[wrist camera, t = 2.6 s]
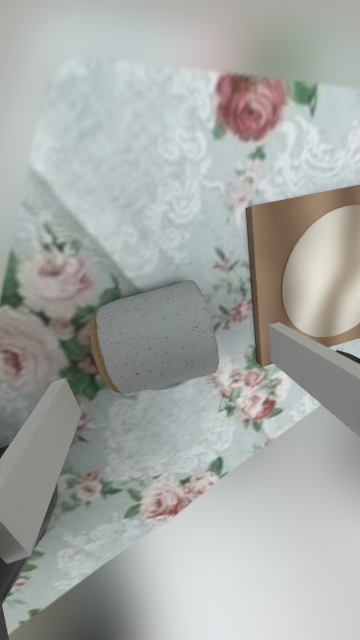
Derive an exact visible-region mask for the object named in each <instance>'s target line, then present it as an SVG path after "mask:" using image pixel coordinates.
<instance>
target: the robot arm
mask: <svg viewBox="0 0 360 640" xmlns="http://www.w3.org/2000/svg"><path fill="white" fill-rule="evenodd" d="M269 346H270V361H271V362H273V363H274V364H275V365H276V366H277V367H278V368H280V369H281V370H282V371H283V372H284V373H285V374H287V375H288V376H289V377H290V378H291V379H293V380H294V381H295V382H296V383H297V384H298V385H300V386H301V387H302V388H303V389H304V390H305V391H307V392H308V393H309V394H310V395H311V396H312V397H314V398H315V399H316V400H317V401H318V402H319V403H321V404H322V405H323V406H324V407H325V408H326V409H328V410H329V411H330V412H331V413H332V414H334V415H335V416H336V417H337V418H338V419H339V420H340V421H342V422H343V423H344V424H345V425H346V426H347V427H349V428H350V429H351V430H352V431H353V432H354V433H356V434H357V435H358V436H359V437H360V359H359V358H357V357H355V356H353V355H351V354H349V353H345V352H342V351H338V350H337V351H333V350H331V349H330V348H328V347H326V346H324V345H322V344H320V343H318V342H316V341H314V340H312V339H310V338H309V337H307V336H305V335H303V334H301V333H299V332H297V331H295V330H293V329H291V328H289V327H287V326H286V325H284V324H282V323H280V322H278V323H274V324H270V325H269ZM81 415H82V412H81V410H80V407H79V405H78V403H77V401H76V399H75V397H74V395H73V392H72V390H71V388H70V386H69V384H68V382H67V380H66V378H64V379H60V380H56V381H53V382H52V383H51V385H50V386H49V388H48V389H47V390H46V392H45V393H44V395H43V396H42V398H41V399H40V401H39V402H38V404H37V405H36V407H35V408H34V410H33V411H32V413H31V414H30V416H29V417H28V419H27V420H26V422H25V423H24V424H23V426H22V427H21V429H20V430H19V432H18V433H17V435H16V436H15V438H14V439H13V441H12V442H11V444H10V445H7V446H5V447H4V448H3V449H2V450H1V449H0V640H9V638H8V633H7V628H6V623H5V618H4V613H3V608H2V604H3V602H4V600H5V599H6V597H7V595H8V593H9V592H10V590H11V588H12V587H13V585H14V583H15V582H16V580H17V578H18V577H19V575H20V573H21V571H22V570H23V568H24V566H25V564H26V563H27V561H28V559H29V557H30V556H31V554H32V552H33V550H34V548H35V547H36V546H37V544H38V543H39V542H40V540H41V539H42V537H43V536H44V534H45V532H46V530H47V528H48V525H49V523H50V520H51V517H52V514H53V511H54V507H55V504H56V500H57V489H56V484H57V481H58V478H59V476H60V473H61V470H62V467H63V465H64V462H65V459H66V456H67V454H68V451H69V448H70V445H71V443H72V440H73V437H74V434H75V432H76V429H77V426H78V423H79V421H80V418H81Z"/></svg>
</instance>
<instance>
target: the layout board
mask: <svg viewBox="0 0 360 640" xmlns="http://www.w3.org/2000/svg"><path fill="white" fill-rule="evenodd" d="M246 216H247V230H248V244H249V257H250V271H251V285H252V299H253V313H254V326H255V340H256V354H257V363H258V364H259V365H261V366H262V367H263V366H267V365H270V364H273V362H271V361H270V346H269V325H270V324H274V323H278V322H280V323H282V324H284V325H286V326H287V327H289V328H291V329H293V330H295V331H297V332H299V333H301V334H303V335H305V336H307V337H309V338H310V339H312V340H314V341H316V342H318V343H320V344H322V345H324V346H326V347H331V346H334V345H337V344H341V343H344V342H347V341H351V340H354V339H358V338H360V185H357V186H352V187H347V188H342V189H337V190H332V191H327V192H322V193H316V194H311V195H306V196H301V197H296V198H291V199H286V200H281V201H275V202H270V203H265V204H260V205H255V206H251V207H248V208H246Z"/></svg>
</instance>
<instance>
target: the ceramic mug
mask: <svg viewBox="0 0 360 640" xmlns="http://www.w3.org/2000/svg"><path fill="white" fill-rule="evenodd" d="M90 338H91V345H92V351H93V355H94V359H95V362H96V365H97V368H98V370H99V372H100V374H101V377H102V379H103V380H104V382H105V383H106V384H107V385H108V386H109V387H110V388H111V389H112V390H113V391H115V392H119V393H131V392H139V391H143V390H147V389H148V390H164V389H170V388H174V387H177V386H179V385H181V384H183V383H185V382H187V381H188V380H189V379H193V378H197V377H201V376H206V375H210V374H213V373H215V372H216V371H217V369H218V364H219V356H218V348H217V343H216V338H215V333H214V328H213V324H212V320H211V316H210V313H209V310H208V307H207V305H206V303H205V301H204V297H203V295H202V292H201V291H200V289H199V288H198V286H197V285H196V284H195V282H194V281H191V280H188V281H184V282H180V283H177V284H174V285H170V286H166V287H162V288H159V289H155V290H151V291H148V292H145V293H141V294H137V295H134V296H130V297H126V298H122V299H118V300H115V301H113V302H110V303H108V304H106V305H103V306H101V307H100V308H98V309H97V310H96V312H95V313H94V315H93V318H92V321H91V327H90Z"/></svg>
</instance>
